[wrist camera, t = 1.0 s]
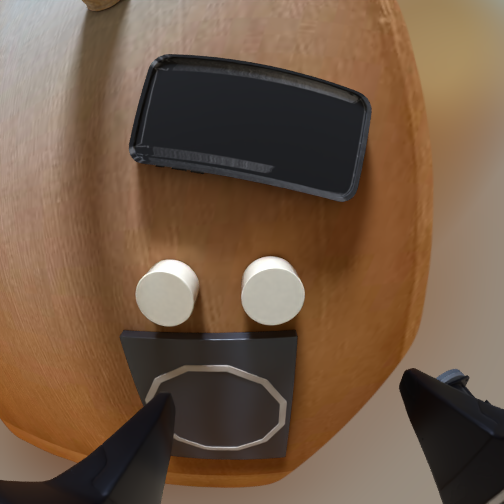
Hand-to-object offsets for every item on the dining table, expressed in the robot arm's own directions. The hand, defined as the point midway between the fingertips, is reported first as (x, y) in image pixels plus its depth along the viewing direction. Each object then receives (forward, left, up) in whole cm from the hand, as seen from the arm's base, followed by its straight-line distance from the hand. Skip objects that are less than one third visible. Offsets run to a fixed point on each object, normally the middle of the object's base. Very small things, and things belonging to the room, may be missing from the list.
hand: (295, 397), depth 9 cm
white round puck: (0, 0, -11) cm, 11 cm away
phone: (+1, -11, -11) cm, 16 cm away
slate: (+5, +13, -11) cm, 18 cm away
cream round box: (+7, 0, -11) cm, 13 cm away
